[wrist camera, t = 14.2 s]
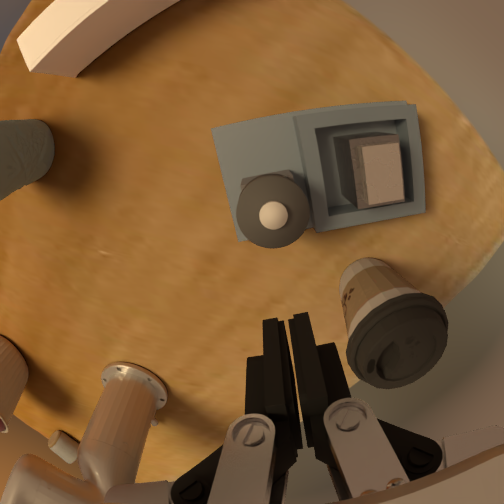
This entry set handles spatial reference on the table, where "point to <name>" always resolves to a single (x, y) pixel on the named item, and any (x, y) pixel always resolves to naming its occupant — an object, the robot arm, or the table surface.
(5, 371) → the canister
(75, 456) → the ceramic mug
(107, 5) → the beige beam
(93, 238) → the table surface
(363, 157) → the beige block
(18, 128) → the green tumbler
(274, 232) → the round knob on base
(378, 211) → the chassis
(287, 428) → the robot arm
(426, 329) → the coffee cup
